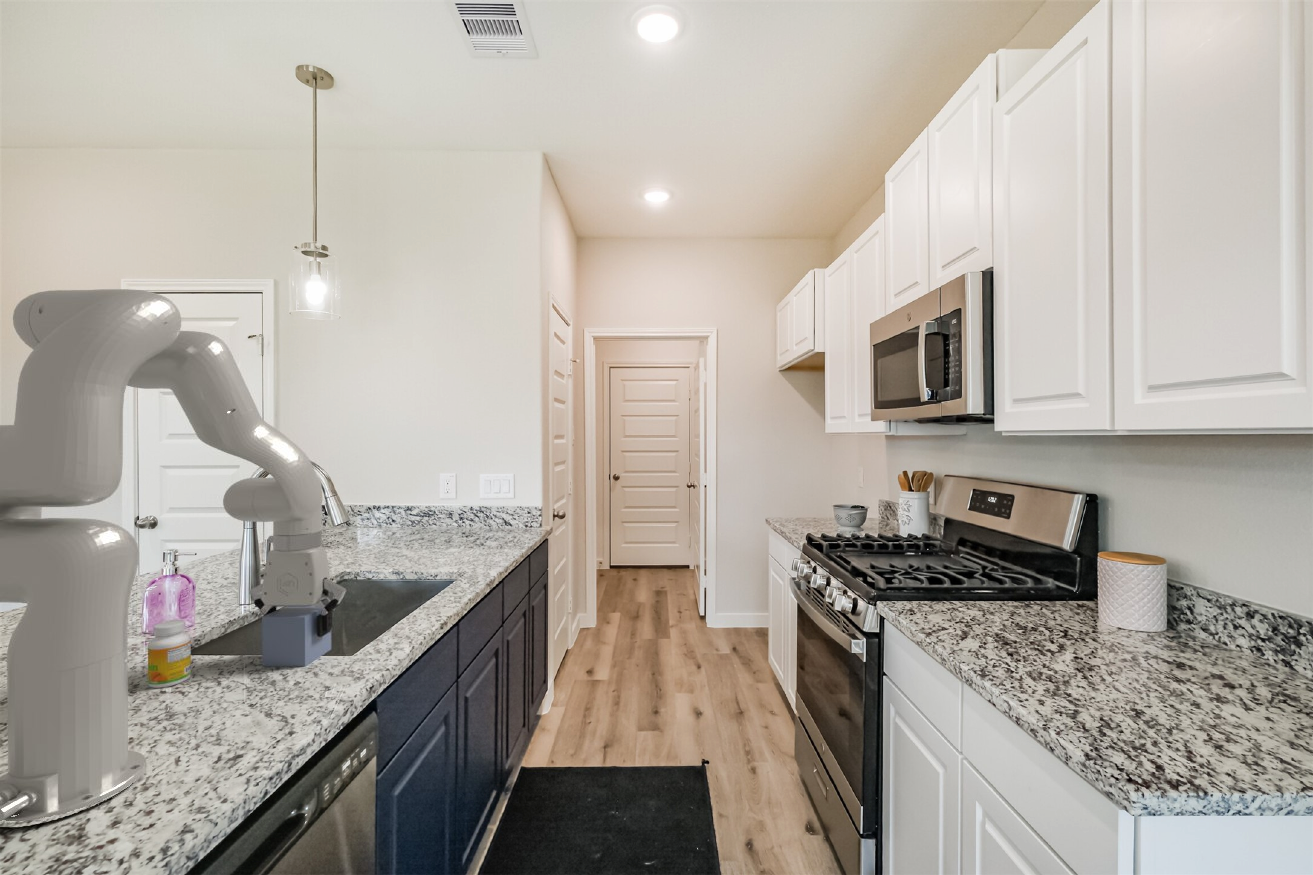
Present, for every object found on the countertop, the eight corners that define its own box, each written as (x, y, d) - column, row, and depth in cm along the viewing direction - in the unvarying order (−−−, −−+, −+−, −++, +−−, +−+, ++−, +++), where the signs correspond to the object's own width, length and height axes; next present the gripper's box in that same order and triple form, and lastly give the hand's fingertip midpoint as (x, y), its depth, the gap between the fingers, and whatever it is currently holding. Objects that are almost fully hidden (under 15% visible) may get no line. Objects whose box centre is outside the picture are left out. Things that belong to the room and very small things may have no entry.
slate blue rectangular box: (305, 666, 97) (305, 617, 97) (262, 665, 98) (262, 616, 97) (331, 649, 105) (331, 603, 105) (291, 648, 105) (291, 603, 105)
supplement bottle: (141, 684, 91) (141, 625, 90) (181, 671, 95) (181, 616, 95) (156, 691, 88) (156, 631, 88) (197, 678, 93) (196, 621, 93)
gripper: (235, 546, 98) (236, 641, 98) (332, 546, 97) (332, 642, 98) (266, 537, 105) (266, 626, 105) (355, 538, 105) (355, 627, 105)
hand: (298, 634), depth 101 cm, fingers open, 9 cm apart
